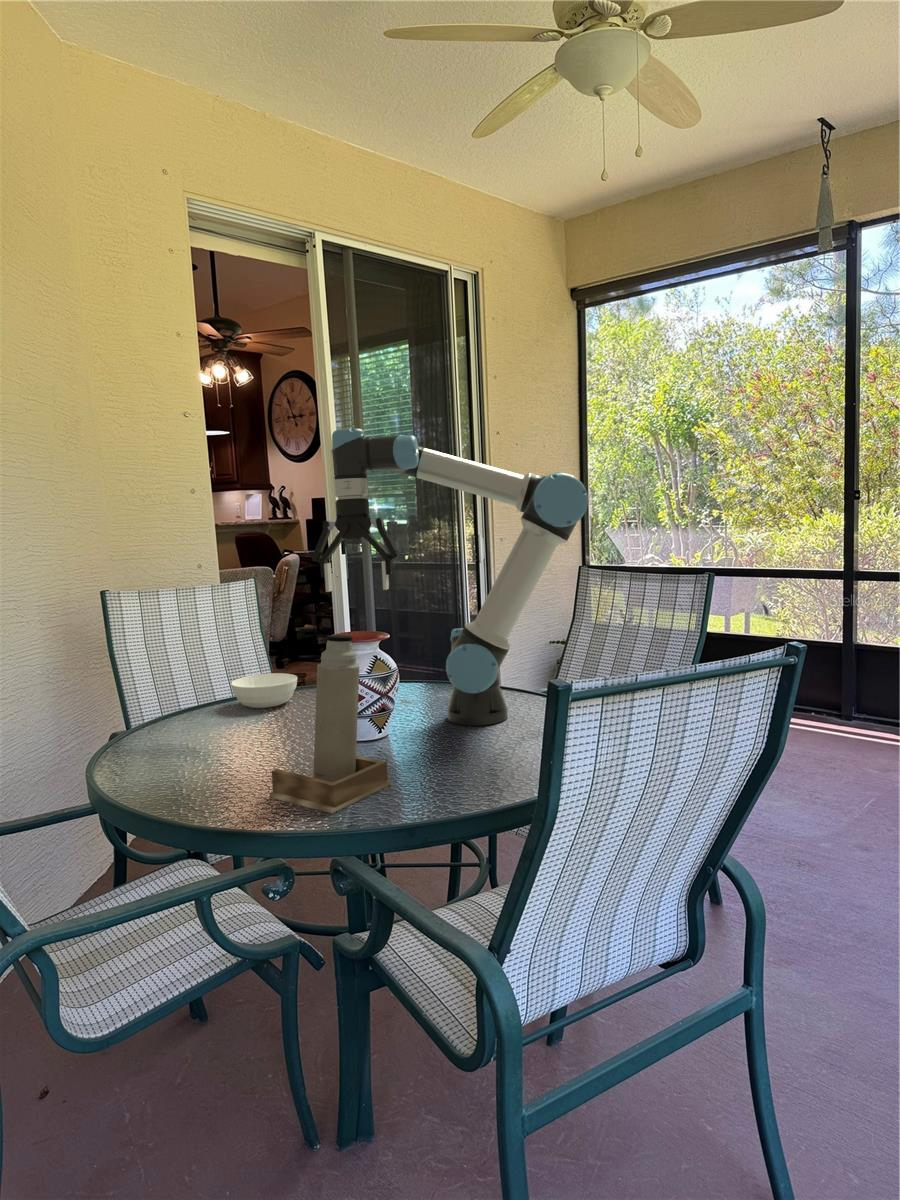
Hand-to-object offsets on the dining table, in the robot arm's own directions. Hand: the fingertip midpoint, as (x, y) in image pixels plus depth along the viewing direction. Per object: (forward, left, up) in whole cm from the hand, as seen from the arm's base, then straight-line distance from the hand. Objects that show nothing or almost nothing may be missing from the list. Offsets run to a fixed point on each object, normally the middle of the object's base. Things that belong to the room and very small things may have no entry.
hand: (357, 590), depth 173 cm
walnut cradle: (-3, +36, -35) cm, 50 cm away
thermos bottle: (-3, +34, -34) cm, 48 cm away
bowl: (+37, -30, -35) cm, 59 cm away
